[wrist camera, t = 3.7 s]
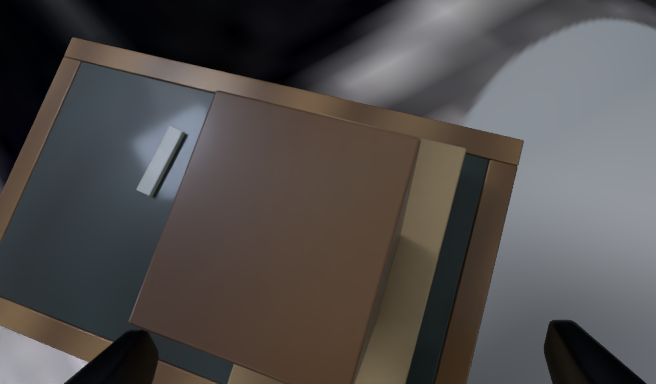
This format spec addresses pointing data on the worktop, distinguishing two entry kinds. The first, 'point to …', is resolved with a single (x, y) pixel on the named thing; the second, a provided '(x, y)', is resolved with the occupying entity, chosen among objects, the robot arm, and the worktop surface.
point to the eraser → (301, 245)
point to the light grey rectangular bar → (160, 161)
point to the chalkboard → (152, 212)
